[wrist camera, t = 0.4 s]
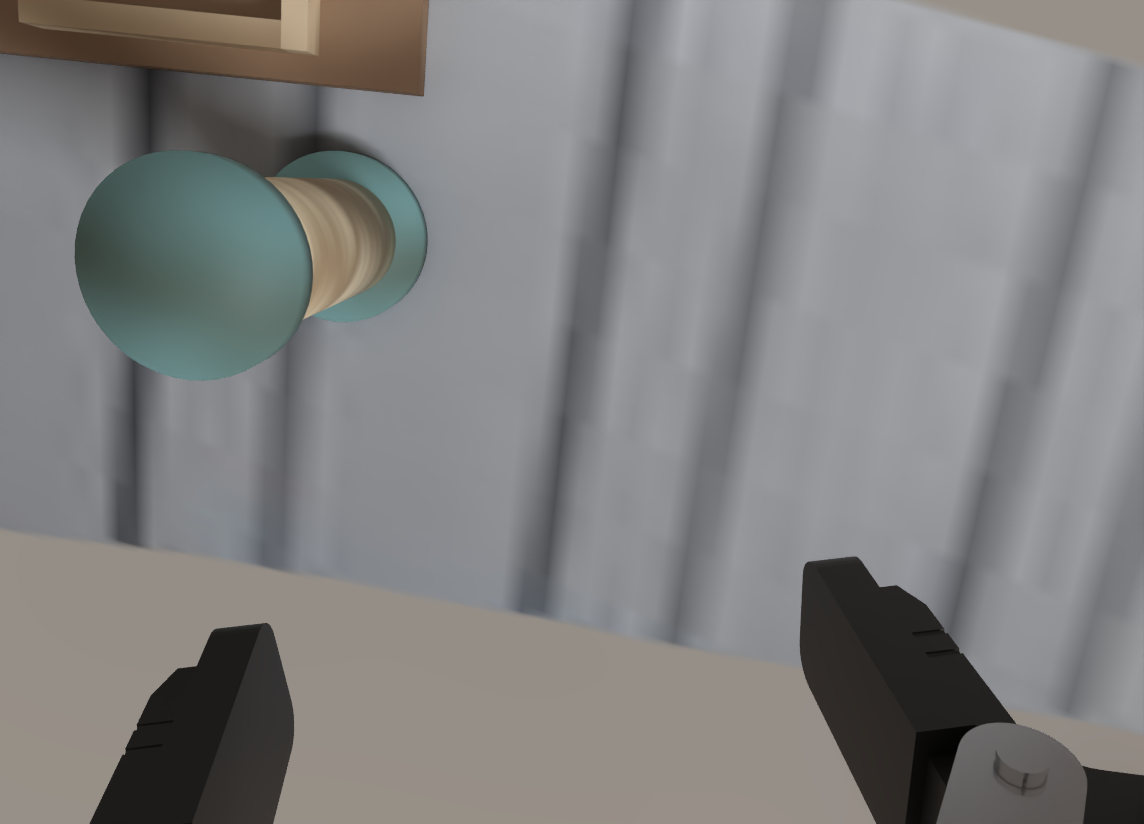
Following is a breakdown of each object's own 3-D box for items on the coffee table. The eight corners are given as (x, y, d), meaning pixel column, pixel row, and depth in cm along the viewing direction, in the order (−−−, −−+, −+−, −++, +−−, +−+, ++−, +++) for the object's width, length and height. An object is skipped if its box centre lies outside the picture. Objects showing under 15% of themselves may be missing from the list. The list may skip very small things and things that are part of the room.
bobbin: (266, 143, 37) (49, 116, 22) (432, 160, 37) (324, 144, 22) (264, 309, 39) (61, 384, 24) (422, 325, 39) (316, 410, 24)
